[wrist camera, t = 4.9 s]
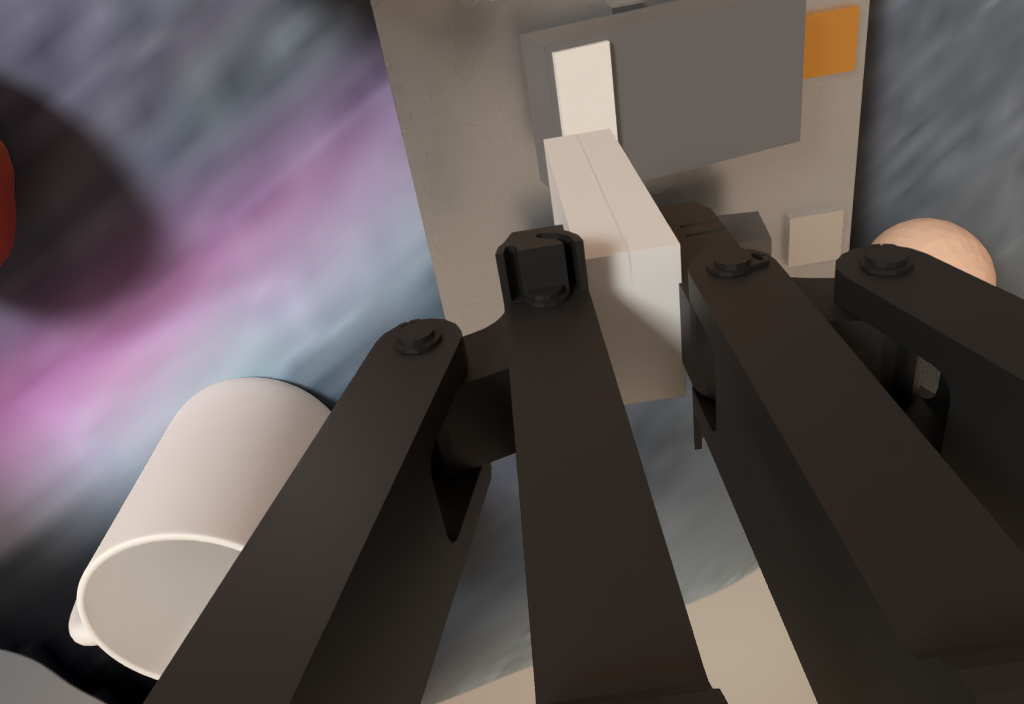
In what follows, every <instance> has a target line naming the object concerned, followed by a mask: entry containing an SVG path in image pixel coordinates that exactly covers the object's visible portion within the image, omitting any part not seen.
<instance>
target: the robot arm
mask: <svg viewBox="0 0 1024 704" xmlns="http://www.w3.org/2000/svg"><path fill="white" fill-rule="evenodd" d="M543 141H544V149H545V156H546V164H547V171H548V179H549V186H550V194H551V201H552V209H553V216H554V224H555V225H554V226H548V227H542V228H536V229H530V230H524V231H518V232H512V233H511V234H510V235H509V237H508V238H507V239H506V240H505V242H504V243H503V244H502V245H500V246H499V247H498V248H497V251H496V253H495V257H496V263H497V269H498V274H499V280H500V285H501V291H502V296H503V302H504V311H505V312H504V313H503V315H502V316H501V317H500V318H499V319H498V320H497V321H496V322H494V323H493V324H491V325H489V326H488V327H486V328H484V329H481V330H479V331H476V332H474V333H471V334H468V335H465V336H463V335H462V331H461V329H460V328H459V327H458V326H457V324H455V323H453V322H450V321H448V320H445V319H431V318H430V319H422V320H420V319H415V320H411V321H409V322H408V323H407V322H405V323H402V324H400V325H398V326H397V327H395V328H393V329H392V330H390V331H388V332H386V333H385V334H384V335H383V336H382V337H381V338H380V339H379V340H378V341H377V342H376V343H375V344H374V346H373V348H372V349H371V351H370V352H369V354H368V355H367V357H366V358H365V360H364V362H363V363H362V365H361V366H360V368H359V369H358V371H357V372H356V374H355V376H354V377H353V379H352V380H351V382H350V383H349V385H348V386H347V388H346V389H345V391H344V393H343V394H342V396H341V397H340V399H339V400H338V402H337V403H336V405H335V407H334V408H333V410H332V411H331V413H330V414H329V416H328V417H327V419H326V421H325V422H324V424H323V425H322V427H321V428H320V430H319V431H318V433H317V434H316V436H315V438H314V439H313V441H312V442H311V444H310V445H309V447H308V448H307V450H306V452H305V453H304V455H303V456H302V458H301V459H300V461H299V462H298V464H297V465H296V467H295V469H294V470H293V472H292V473H291V475H290V476H289V478H288V479H287V481H286V483H285V484H284V486H283V487H282V489H281V490H280V492H279V493H278V495H277V497H276V498H275V500H274V501H273V503H272V504H271V506H270V507H269V509H268V510H267V512H266V514H265V515H264V517H263V518H262V520H261V521H260V523H259V524H258V526H257V528H256V529H255V531H254V532H253V534H252V535H251V537H250V538H249V540H248V542H247V543H246V545H245V546H244V548H243V549H242V551H241V552H240V554H239V555H238V557H237V559H236V560H235V562H234V563H233V565H232V566H231V568H230V569H229V571H228V573H227V574H226V576H225V577H224V579H223V580H222V582H221V583H220V585H219V586H218V588H217V590H216V591H215V593H214V594H213V596H212V597H211V599H210V600H209V602H208V604H207V605H206V607H205V608H204V610H203V611H202V613H201V614H200V616H199V618H198V619H197V621H196V622H195V624H194V625H193V627H192V628H191V630H190V631H189V633H188V635H187V636H186V638H185V639H184V641H183V642H182V644H181V645H180V647H179V649H178V650H177V652H176V653H175V655H174V656H173V658H172V659H171V661H170V663H169V664H168V666H167V667H166V669H165V670H164V672H163V673H162V675H161V676H160V678H159V680H158V681H157V683H156V684H155V686H154V687H153V689H152V690H151V692H150V694H149V695H148V697H147V698H146V700H145V701H144V703H143V704H420V703H421V700H422V697H423V694H424V690H425V687H426V684H427V681H428V678H429V674H430V671H431V668H432V665H433V662H434V658H435V655H436V652H437V649H438V646H439V643H440V639H441V636H442V633H443V630H444V627H445V623H446V620H447V617H448V614H449V611H450V607H451V604H452V601H453V598H454V595H455V592H456V588H457V585H458V582H459V579H460V576H461V572H462V569H463V566H464V563H465V560H466V556H467V553H468V550H469V547H470V544H471V541H472V537H473V534H474V531H475V528H476V525H477V521H478V518H479V515H480V512H481V509H482V505H483V502H484V499H485V496H486V493H487V490H488V486H489V483H490V480H491V468H492V467H491V463H490V462H493V461H495V460H498V459H500V458H503V457H506V456H508V455H511V454H513V453H516V460H517V472H518V484H519V497H520V509H521V522H522V534H523V546H524V559H525V571H526V583H527V596H528V608H529V620H530V633H531V645H532V658H533V670H534V682H535V695H536V704H728V703H727V701H726V699H725V697H724V695H723V694H722V692H721V690H720V689H713V688H712V687H711V685H710V683H709V681H708V678H707V675H706V672H705V670H704V667H703V663H702V660H701V657H700V653H699V650H698V647H697V644H696V640H695V637H694V634H693V630H692V627H691V624H690V621H689V617H688V614H687V611H686V607H685V604H684V601H683V598H682V594H681V591H680V588H679V584H678V581H677V578H676V575H675V571H674V568H673V565H672V561H671V558H670V555H669V552H668V548H667V545H666V542H665V538H664V535H663V532H662V529H661V525H660V522H659V519H658V515H657V512H656V509H655V506H654V502H653V499H652V496H651V492H650V489H649V486H648V483H647V479H646V476H645V473H644V469H643V466H642V463H641V460H640V456H639V453H638V450H637V446H636V443H635V440H634V436H633V433H632V430H631V427H630V423H629V420H628V417H627V413H626V410H625V407H624V405H626V404H633V403H639V402H646V401H653V400H659V399H666V398H672V397H679V396H686V379H685V369H686V371H687V374H688V376H689V378H690V380H691V382H692V392H693V421H694V444H695V450H697V449H702V438H703V437H704V438H705V440H706V442H707V445H708V447H709V449H710V452H711V454H712V456H713V459H714V461H715V463H716V466H717V468H718V470H719V473H720V475H721V478H722V480H723V482H724V485H725V487H726V489H727V492H728V494H729V496H730V499H731V501H732V503H733V506H734V508H735V510H736V513H737V515H738V517H739V520H740V522H741V524H742V527H743V529H744V531H745V534H746V536H747V538H748V541H749V543H750V545H751V548H752V550H753V552H754V555H755V557H756V559H757V562H758V564H759V567H760V569H761V571H762V574H763V576H764V578H765V580H766V583H767V585H768V588H769V590H770V592H771V595H772V597H773V599H774V602H775V604H776V606H777V609H778V611H779V613H780V616H781V618H782V620H783V623H784V625H785V627H786V630H787V632H788V634H789V637H790V639H791V641H792V644H793V646H794V649H795V651H796V653H797V655H798V658H799V660H800V662H801V665H802V667H803V670H804V672H805V674H806V677H807V679H808V681H809V684H810V686H811V688H812V691H813V693H814V695H815V698H816V700H817V702H818V704H1024V300H1023V299H1021V298H1019V297H1017V296H1015V295H1013V294H1011V293H1009V292H1007V291H1004V290H1002V289H1000V288H998V287H996V286H994V285H992V284H990V283H988V282H986V281H983V280H981V279H979V278H977V277H975V276H973V275H971V274H969V273H967V272H964V271H962V270H960V269H958V268H956V267H954V266H952V265H950V264H948V263H946V262H943V261H941V260H939V259H937V258H935V257H933V256H931V255H929V254H927V253H924V252H921V251H918V250H915V249H912V248H908V247H901V246H896V245H895V244H882V245H880V244H871V245H868V246H866V247H860V248H855V249H852V250H850V251H848V252H845V253H843V254H842V255H841V256H840V257H839V258H838V259H837V260H836V264H835V277H834V278H798V277H790V276H789V275H788V273H787V272H786V271H785V270H784V269H783V267H782V266H781V265H780V264H779V263H778V262H777V260H776V259H774V258H773V257H771V256H770V255H769V254H767V253H764V252H761V251H757V250H754V249H743V248H741V247H740V245H739V244H738V243H737V241H736V240H735V239H734V238H733V236H732V235H731V234H730V232H729V231H727V230H726V227H725V226H724V225H723V223H722V222H720V221H719V218H718V217H717V216H716V214H715V213H714V212H713V211H712V209H711V208H708V207H706V206H704V205H701V204H699V203H697V202H694V201H689V202H683V203H677V204H671V205H665V206H658V207H657V205H656V204H655V202H654V200H653V199H652V197H651V195H650V194H649V192H648V190H647V189H646V187H645V185H644V184H643V182H642V180H641V179H640V177H639V176H638V174H637V172H636V171H635V169H634V167H633V166H632V164H631V162H630V161H629V159H628V157H627V156H626V154H625V152H624V151H623V149H622V147H621V146H620V144H619V142H618V141H617V139H616V138H615V136H614V134H613V133H612V131H611V129H610V128H609V129H603V130H597V131H591V132H585V133H579V134H573V135H567V136H561V137H555V138H549V139H543ZM924 360H926V361H927V362H929V363H931V364H932V365H933V366H934V367H936V368H937V369H938V370H939V371H940V372H941V374H940V380H939V386H938V390H937V392H936V394H934V393H932V392H930V391H928V390H927V389H925V388H924V387H923V386H921V385H920V382H921V376H922V369H923V363H924Z"/></svg>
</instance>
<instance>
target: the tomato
mask: <svg viewBox="0 0 1024 704" xmlns="http://www.w3.org/2000/svg"><path fill="white" fill-rule="evenodd" d="M14 180H15V173H14V169H13V166H12V163H11V159H10V156H9V153H8V150H7V148H6V147H5V145H4V144H3V142H2V141H1V139H0V268H1V266H2V265H3V263H4V262H5V260H6V259H7V257H8V256H9V255H10V254H11V252H12V250H13V245H14V239H15V230H16V217H17V212H16V204H15V192H14Z"/></svg>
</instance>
